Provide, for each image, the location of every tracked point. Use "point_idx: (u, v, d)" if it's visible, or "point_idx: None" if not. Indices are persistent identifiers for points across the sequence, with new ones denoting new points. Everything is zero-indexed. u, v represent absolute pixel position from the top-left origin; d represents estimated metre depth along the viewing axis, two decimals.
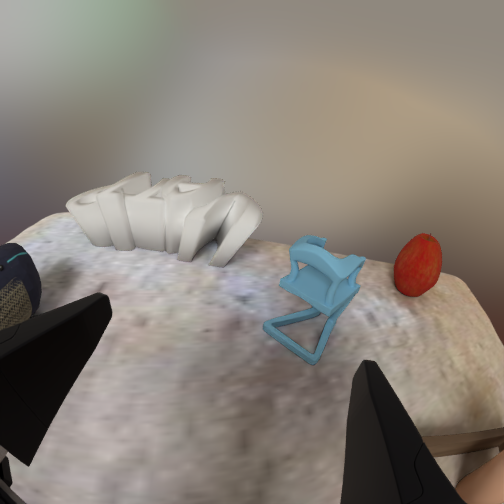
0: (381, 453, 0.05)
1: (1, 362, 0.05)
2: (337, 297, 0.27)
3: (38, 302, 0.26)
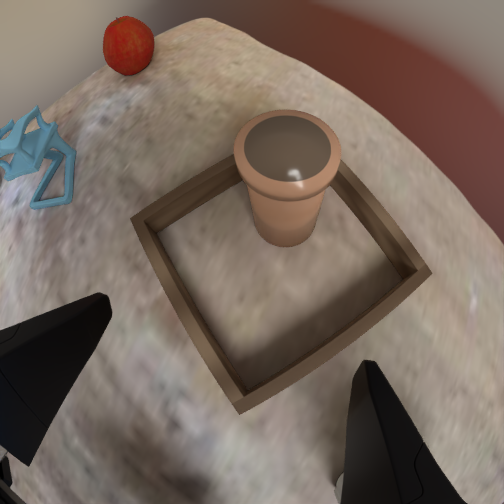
0: (381, 453, 0.05)
1: (1, 362, 0.05)
2: (37, 151, 0.22)
3: None
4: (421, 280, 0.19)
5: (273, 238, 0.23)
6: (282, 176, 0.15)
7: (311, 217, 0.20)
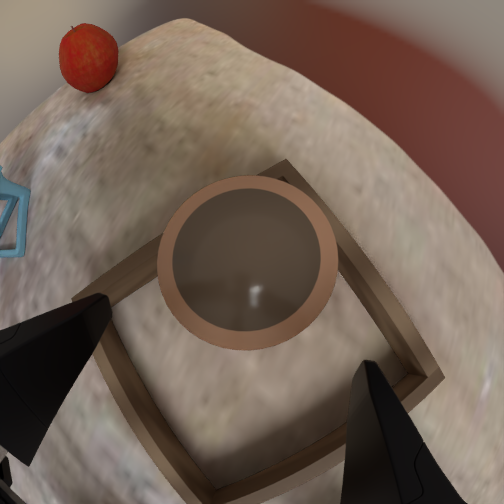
0: (381, 453, 0.05)
1: (1, 362, 0.05)
2: None
3: None
4: (430, 389, 0.13)
5: None
6: (230, 320, 0.09)
7: None
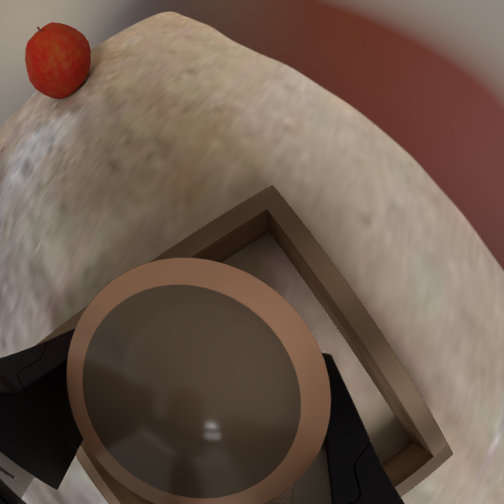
0: (321, 449, 0.05)
1: (30, 387, 0.05)
2: None
3: None
4: (434, 467, 0.09)
5: None
6: (163, 482, 0.04)
7: None
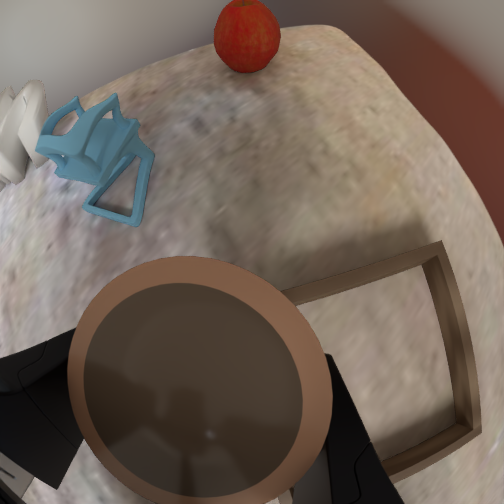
0: (321, 449, 0.05)
1: (30, 387, 0.05)
2: (106, 157, 0.20)
3: None
4: (471, 438, 0.14)
5: None
6: (165, 481, 0.04)
7: None
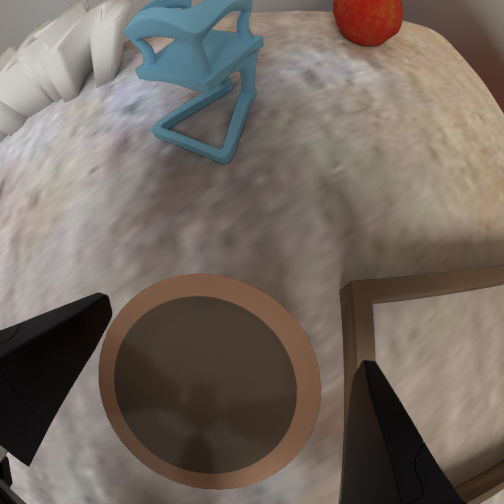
0: (381, 453, 0.05)
1: (1, 362, 0.05)
2: (219, 62, 0.14)
3: None
4: None
5: None
6: (183, 461, 0.06)
7: None
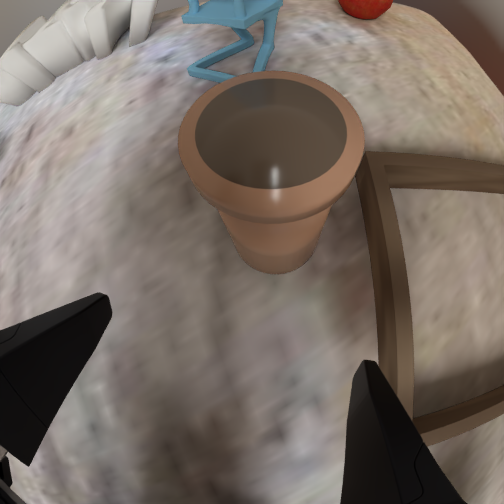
0: (381, 453, 0.05)
1: (1, 362, 0.05)
2: (252, 11, 0.16)
3: None
4: None
5: (258, 265, 0.16)
6: (257, 178, 0.08)
7: (312, 238, 0.13)
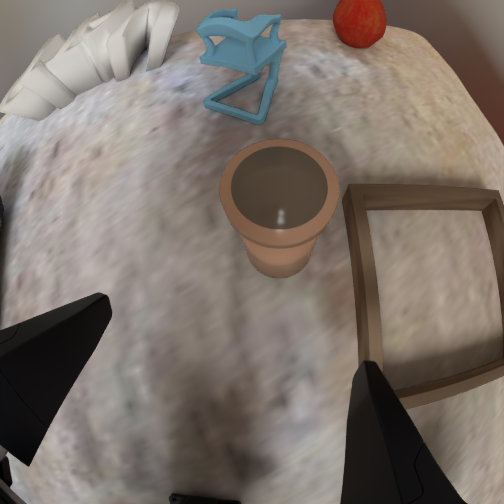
0: (381, 453, 0.05)
1: (1, 362, 0.05)
2: (260, 56, 0.22)
3: (0, 205, 0.26)
4: None
5: (266, 271, 0.22)
6: (272, 222, 0.14)
7: (305, 254, 0.19)
